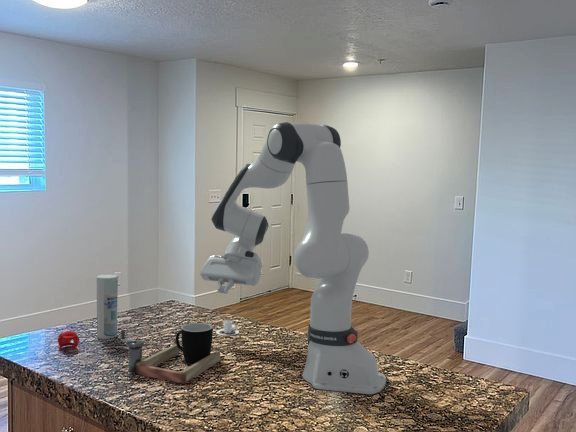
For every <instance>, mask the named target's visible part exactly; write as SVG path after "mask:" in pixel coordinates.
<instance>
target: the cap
mask: <svg viewBox="0 0 576 432" xmlns="http://www.w3.org/2000/svg"><path fill="white" fill-rule="evenodd" d="M71 341H73V342H71ZM57 343H58V344H57V345H58V346H59V347H58V349H59V350H61V349H62V348H63V347H67V346H68V347H69V346H72V347H71V349H72V350H75V349H76V348H78V346H79V343H80V337H79V336H78V334H77V333H76V332H75V331H72V330H67V331H64V332H60V333H59V335H58V337H57Z"/></svg>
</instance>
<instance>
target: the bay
mask: <svg viewBox="0 0 576 432" xmlns="http://www.w3.org/2000/svg"><path fill="white" fill-rule="evenodd" d="M177 354H178V355H180V349H179V348H178V347H177V345H176V343H175V344H173V345H170V346H169V347H167V348H165V349H163V350H159V351H158V352H156V353H155V354H153V355H149V357H146V358H145V359H142V361H140V362H138V363H136V372H135V373H136V375H140V376H143V377H148V378H154V379H159V380H165V381H169V382H173V383H178V384H179V383H180V384H183V385H184V384H186V383H187V382H189V381H191V380H192V379H194V378H195V377H197V376H199V375H200V374H202V373H203V372H205V371H206V369H207V370H208V369H210V368H212V367H213V366H214V365H217V364H218V363H220V361H221V350H215V351H214V352H212V353H210V355H209V356H207V357H205V358H203V359H202V360H200V361H198V362H197V363H195V364H193V365H190V366H188V367H187V368H185V369H183V370H181V371H177V370H172V369H167V368H163V367H157V366H159V365H161V364H163V363H165V362H166V360H167V361H168V360H170V359H172V358H174V357H176V356H178V355H177ZM164 361H165V362H164ZM162 362H163V363H162ZM160 363H161V364H160ZM158 364H159V365H158ZM156 365H157V366H156ZM209 367H210V368H209ZM198 374H199V375H198Z"/></svg>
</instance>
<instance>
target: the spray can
mask: <svg viewBox="0 0 576 432" xmlns="http://www.w3.org/2000/svg"><path fill="white" fill-rule="evenodd" d="M118 280H119V278H118V275H117V274H99V275H97V276H96V336H97V339H100V340H110V338H111V339H115V338H116V337H118V292H119V291H118V288H119V287H118V282H119V281H118ZM114 337H115V338H114Z"/></svg>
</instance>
